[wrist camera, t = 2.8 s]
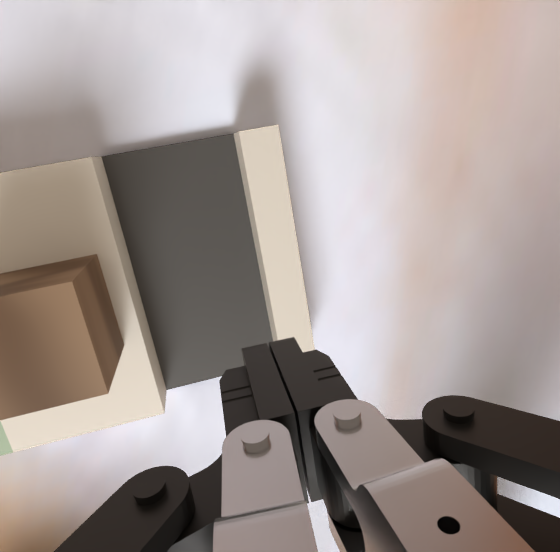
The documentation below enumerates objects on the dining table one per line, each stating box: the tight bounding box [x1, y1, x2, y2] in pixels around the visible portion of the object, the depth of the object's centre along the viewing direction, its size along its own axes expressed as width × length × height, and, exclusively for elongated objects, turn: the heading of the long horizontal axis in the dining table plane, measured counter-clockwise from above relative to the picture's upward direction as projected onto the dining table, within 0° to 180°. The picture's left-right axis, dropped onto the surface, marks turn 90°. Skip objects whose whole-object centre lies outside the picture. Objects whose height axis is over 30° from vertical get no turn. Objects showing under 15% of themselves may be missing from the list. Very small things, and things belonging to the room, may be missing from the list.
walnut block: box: [0, 254, 124, 420], centre depth 20 cm, size 5×5×5 cm
